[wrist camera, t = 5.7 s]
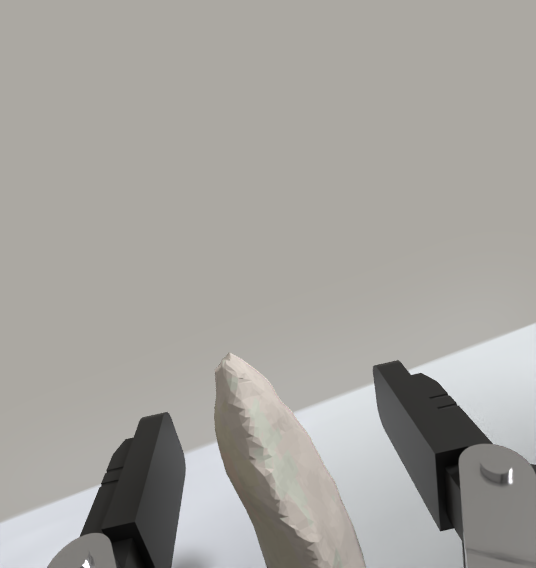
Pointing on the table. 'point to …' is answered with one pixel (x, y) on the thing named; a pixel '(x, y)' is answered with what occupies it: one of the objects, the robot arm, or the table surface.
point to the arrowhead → (280, 475)
